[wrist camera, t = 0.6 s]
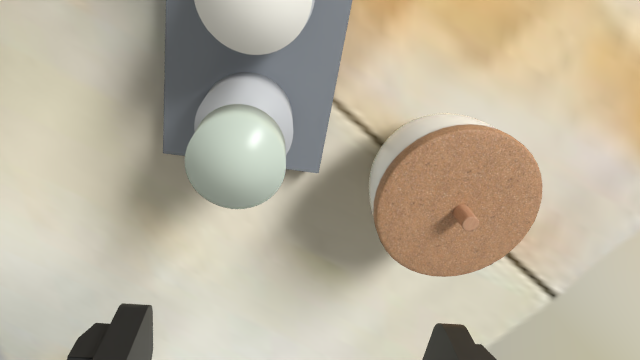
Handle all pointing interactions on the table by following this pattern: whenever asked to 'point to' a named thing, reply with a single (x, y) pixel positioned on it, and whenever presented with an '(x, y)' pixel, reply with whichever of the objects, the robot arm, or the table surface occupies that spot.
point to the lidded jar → (452, 194)
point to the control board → (282, 65)
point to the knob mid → (254, 23)
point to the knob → (236, 157)
